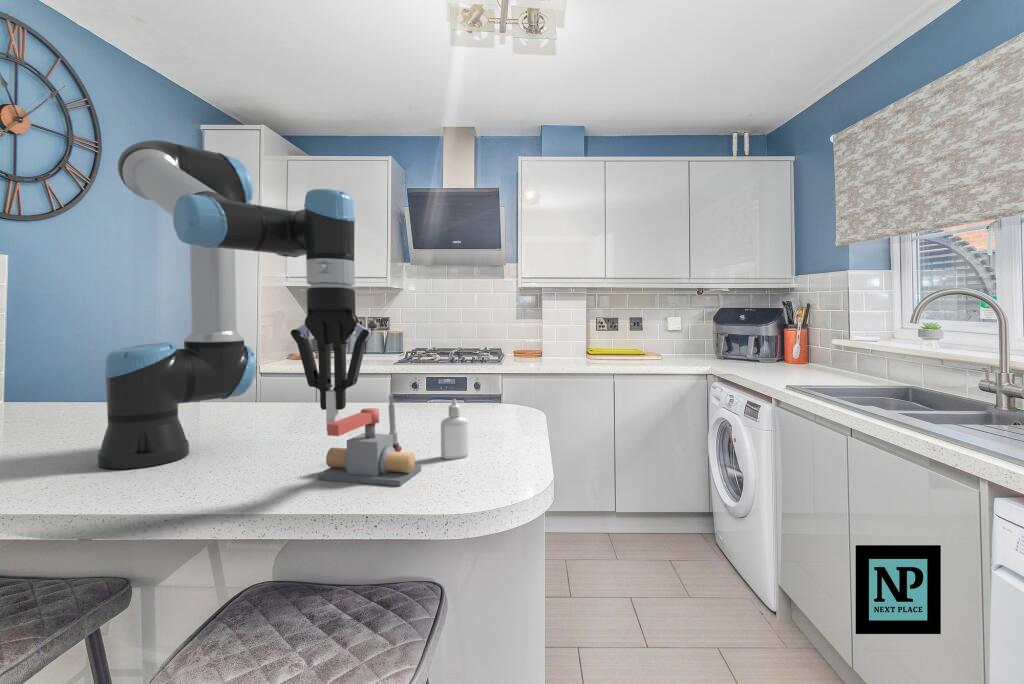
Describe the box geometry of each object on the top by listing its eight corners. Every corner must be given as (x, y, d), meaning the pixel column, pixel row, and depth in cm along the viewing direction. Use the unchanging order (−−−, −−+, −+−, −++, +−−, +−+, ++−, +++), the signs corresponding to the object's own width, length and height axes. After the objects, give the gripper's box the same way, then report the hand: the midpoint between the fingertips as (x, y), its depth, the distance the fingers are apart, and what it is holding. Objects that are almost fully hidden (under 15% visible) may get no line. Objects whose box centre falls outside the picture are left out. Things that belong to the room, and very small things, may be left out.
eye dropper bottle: (466, 460, 104) (466, 401, 103) (439, 459, 104) (438, 401, 103) (469, 454, 108) (469, 398, 108) (443, 453, 108) (443, 397, 108)
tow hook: (347, 463, 103) (392, 461, 103) (343, 399, 103) (388, 398, 102) (361, 452, 112) (403, 451, 111) (358, 393, 111) (400, 392, 111)
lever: (366, 420, 95) (366, 407, 95) (382, 421, 95) (382, 408, 95) (324, 437, 82) (323, 422, 82) (341, 438, 81) (341, 423, 81)
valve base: (317, 479, 91) (316, 427, 91) (345, 465, 100) (344, 417, 100) (400, 486, 88) (399, 431, 87) (421, 470, 97) (420, 421, 96)
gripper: (281, 285, 80) (284, 434, 81) (364, 285, 81) (366, 433, 82) (300, 288, 88) (303, 424, 89) (376, 288, 88) (377, 424, 89)
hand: (333, 428), depth 85 cm, fingers closed
